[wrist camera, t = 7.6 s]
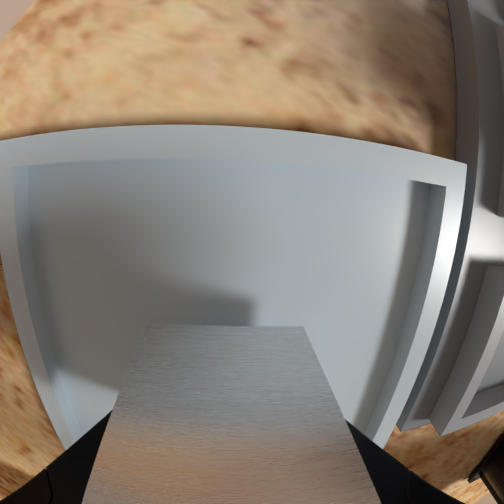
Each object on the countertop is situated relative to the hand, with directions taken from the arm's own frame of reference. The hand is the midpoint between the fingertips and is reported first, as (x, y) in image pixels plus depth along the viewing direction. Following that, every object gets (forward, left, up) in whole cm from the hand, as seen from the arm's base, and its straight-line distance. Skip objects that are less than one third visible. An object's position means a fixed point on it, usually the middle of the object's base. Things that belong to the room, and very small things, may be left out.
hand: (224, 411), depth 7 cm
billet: (0, 0, -1) cm, 1 cm away
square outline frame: (0, 0, -3) cm, 3 cm away
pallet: (+6, -12, -3) cm, 14 cm away
